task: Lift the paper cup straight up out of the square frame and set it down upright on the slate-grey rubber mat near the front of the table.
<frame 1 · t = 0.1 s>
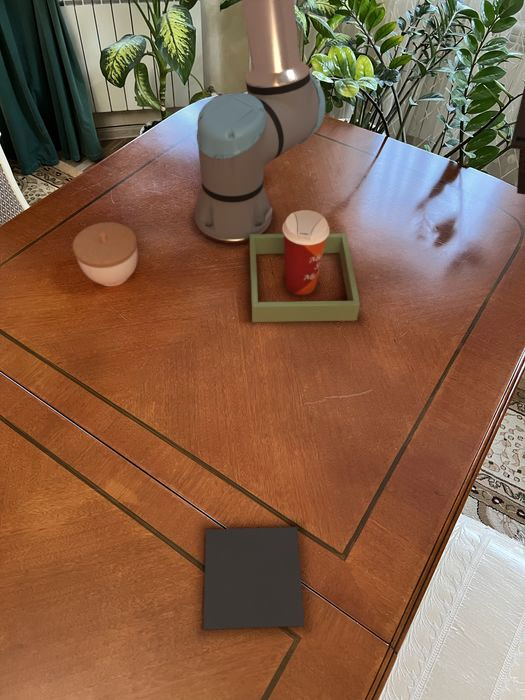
trinket box: (113, 275, 104), on the table
square frame: (300, 283, 103), on the table
paper cup: (300, 284, 104), resting in square frame
mat: (252, 576, 72), on the table
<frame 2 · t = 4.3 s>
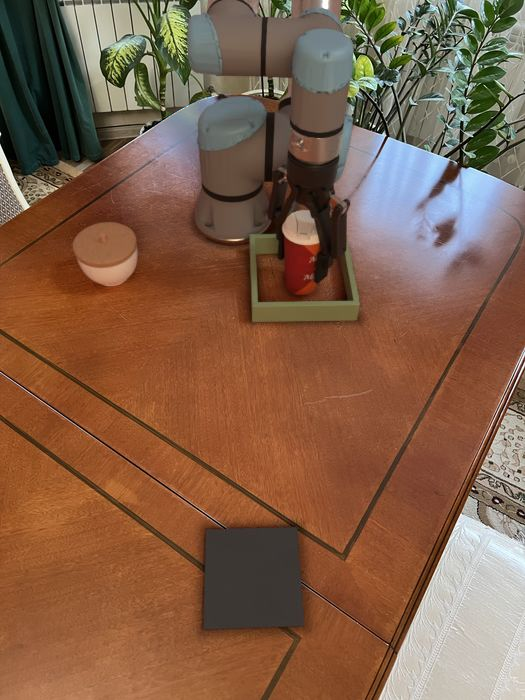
hand: (302, 266, 100), 4 cm above the table, tool pointing down, fingers closed on paper cup, 8 cm apart
paper cup: (300, 284, 104), resting in square frame, touching gripper
everything else where it was.
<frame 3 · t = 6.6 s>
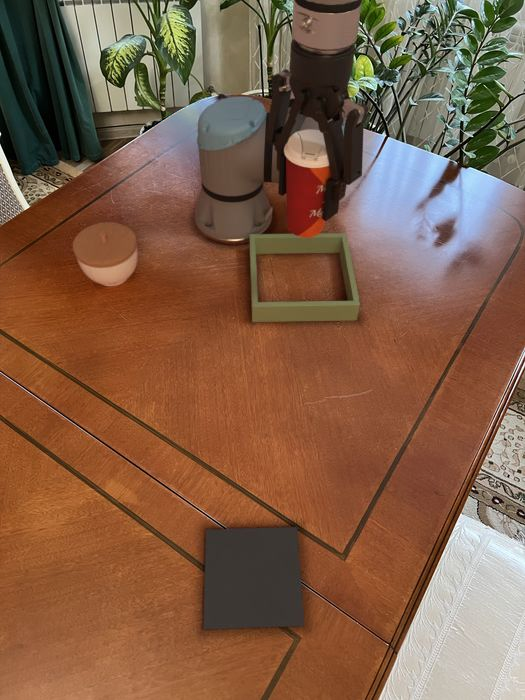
hand: (307, 203, 84), 21 cm above the table, tool pointing down, fingers closed on paper cup, 8 cm apart
paper cup: (305, 226, 87), point 17 cm above the table, touching gripper
everything else where it was.
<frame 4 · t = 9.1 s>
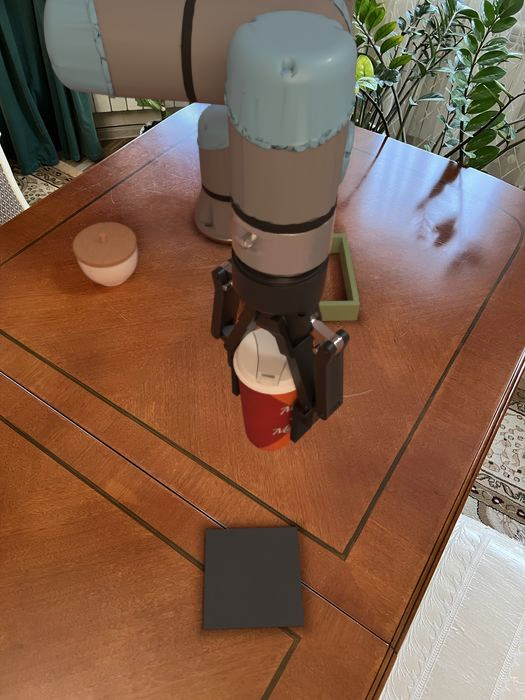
hand: (271, 409, 61), 22 cm above the table, tool pointing down, fingers closed on paper cup, 8 cm apart
paper cup: (270, 429, 65), point 18 cm above the table, touching gripper
everything else where it was.
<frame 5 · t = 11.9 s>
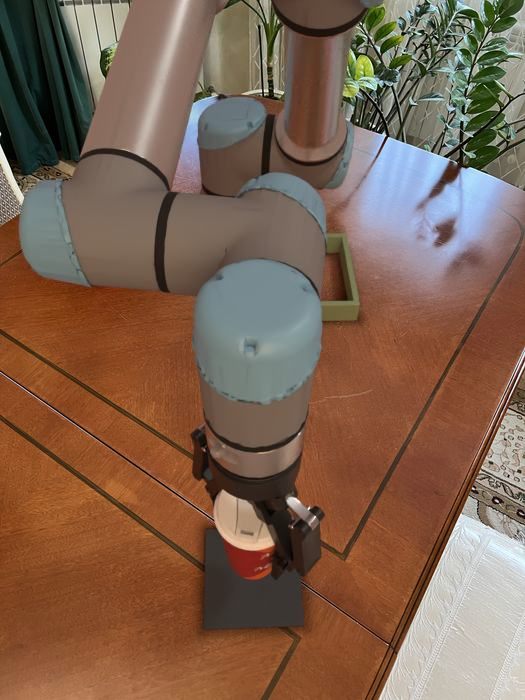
hand: (253, 541, 62), 13 cm above the table, tool pointing down, fingers closed on paper cup, 8 cm apart
paper cup: (253, 554, 65), point 8 cm above the table, touching gripper
everything else where it was.
when the fingers open (4 cm above the table, at t = 14.2 s): paper cup stays where it is, resting on mat.
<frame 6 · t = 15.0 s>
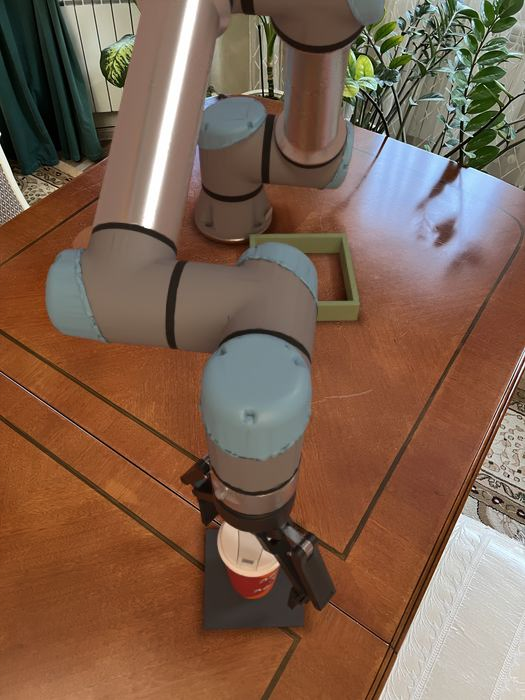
hand: (253, 555, 66), 7 cm above the table, tool pointing down, fingers open, 13 cm apart
paper cup: (252, 575, 72), resting on mat
everything else where it was.
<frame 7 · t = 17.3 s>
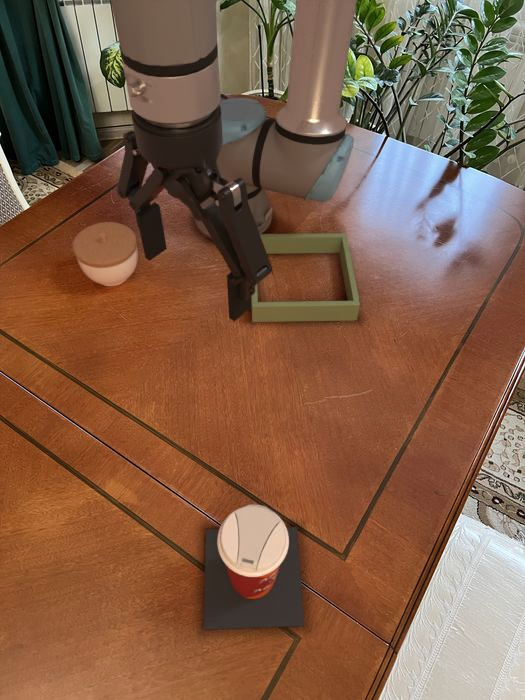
hand: (196, 282, 65), 28 cm above the table, tool pointing down, fingers open, 13 cm apart
nothing on the table moved.
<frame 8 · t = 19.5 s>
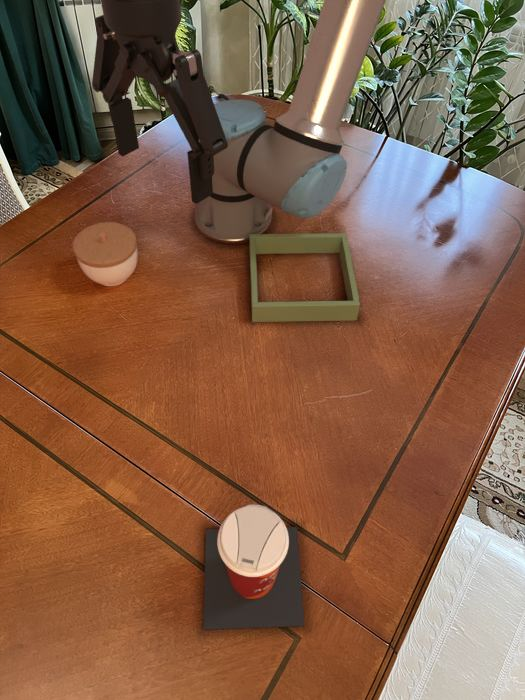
hand: (164, 173, 70), 32 cm above the table, tool pointing down, fingers open, 13 cm apart
nothing on the table moved.
at the end: paper cup inside the target area on the mat (0.0 cm from its centre), point 0.2 cm above the mat's base; paper cup tilted 0°; the gripper is holding nothing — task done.
